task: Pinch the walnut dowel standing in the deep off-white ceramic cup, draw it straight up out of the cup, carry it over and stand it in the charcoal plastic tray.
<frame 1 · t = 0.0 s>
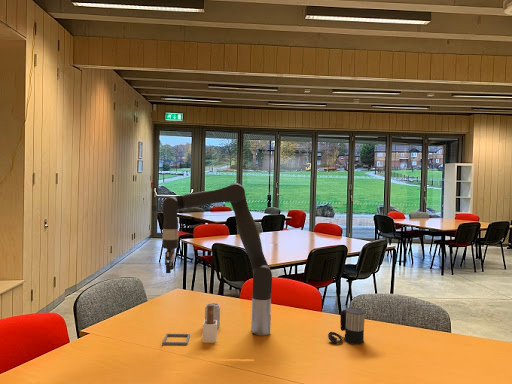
hand: (169, 271, 214), 29 cm above the table, tool pointing down, fingers open, 8 cm apart
dowel: (209, 339, 202), point 1 cm above the table, touching cup
cup: (209, 341, 203), on the table
milk frother: (346, 342, 208), on the table
can: (212, 328, 221), on the table
tray: (176, 341, 201), on the table
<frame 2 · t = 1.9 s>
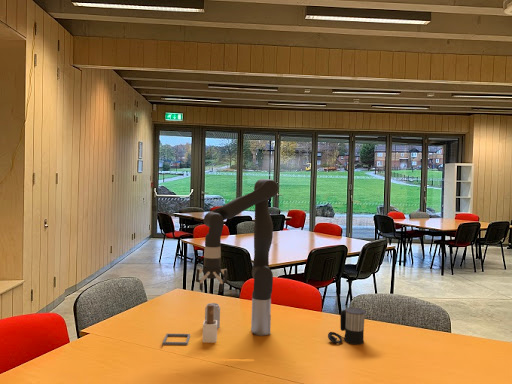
hand: (211, 291, 202), 23 cm above the table, tool pointing down, fingers open, 8 cm apart
nothing on the table moved.
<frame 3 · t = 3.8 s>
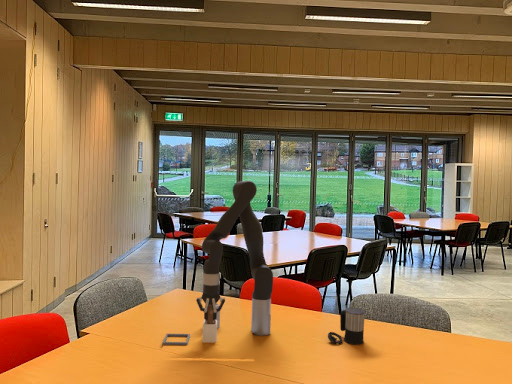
hand: (210, 319, 202), 10 cm above the table, tool pointing down, fingers closed on dowel, 3 cm apart
dowel: (209, 339, 202), point 1 cm above the table, touching cup, gripper
everything else where it was.
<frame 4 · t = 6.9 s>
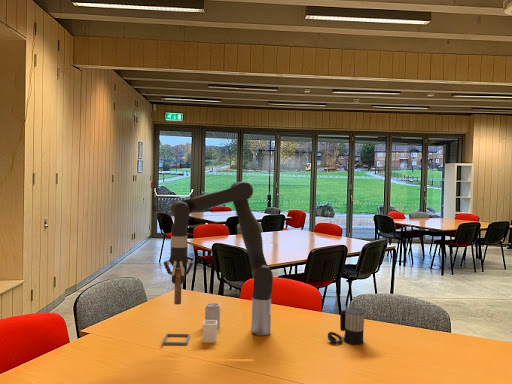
hand: (178, 283, 200), 27 cm above the table, tool pointing down, fingers closed on dowel, 3 cm apart
dowel: (177, 303, 200), point 18 cm above the table, touching gripper
everything else where it was.
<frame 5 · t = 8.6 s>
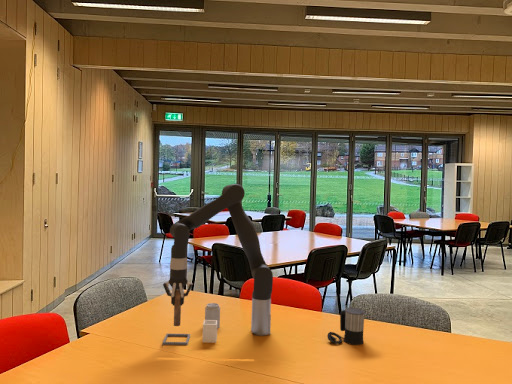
hand: (177, 304, 200), 17 cm above the table, tool pointing down, fingers closed on dowel, 3 cm apart
dowel: (177, 325, 201), point 8 cm above the table, touching gripper
everything else where it was.
when the fingers open (11 cm above the table, at t = 10.1 s): dowel stays where it is, resting on tray.
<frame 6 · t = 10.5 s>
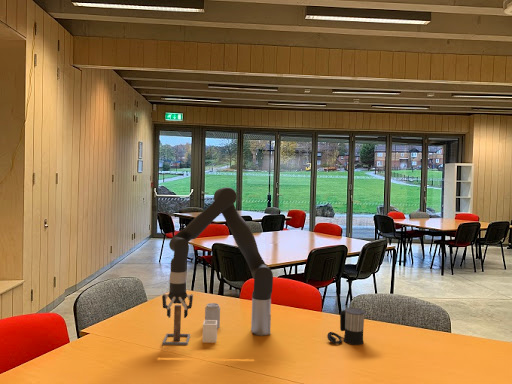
hand: (177, 317, 201), 11 cm above the table, tool pointing down, fingers open, 6 cm apart
dowel: (176, 340, 201), point 1 cm above the table, touching tray
everything else where it was.
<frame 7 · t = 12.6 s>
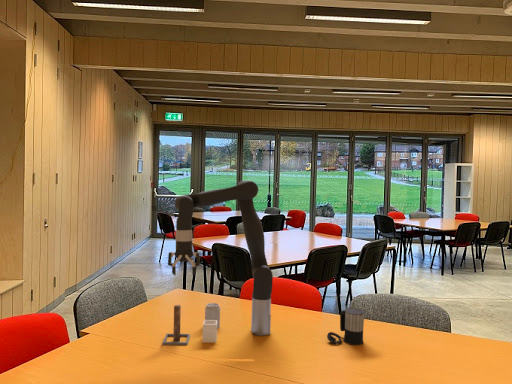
hand: (183, 274, 202), 31 cm above the table, tool pointing down, fingers open, 8 cm apart
nothing on the table moved.
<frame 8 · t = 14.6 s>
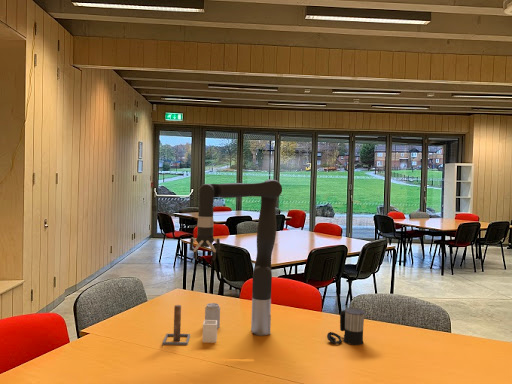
hand: (204, 259, 210), 36 cm above the table, tool pointing down, fingers open, 8 cm apart
nothing on the table moved.
at the end: dowel inside the target area on the tray (0.0 cm from its centre), point 0.6 cm above the tray's base; dowel tilted 0°; the gripper is holding nothing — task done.
